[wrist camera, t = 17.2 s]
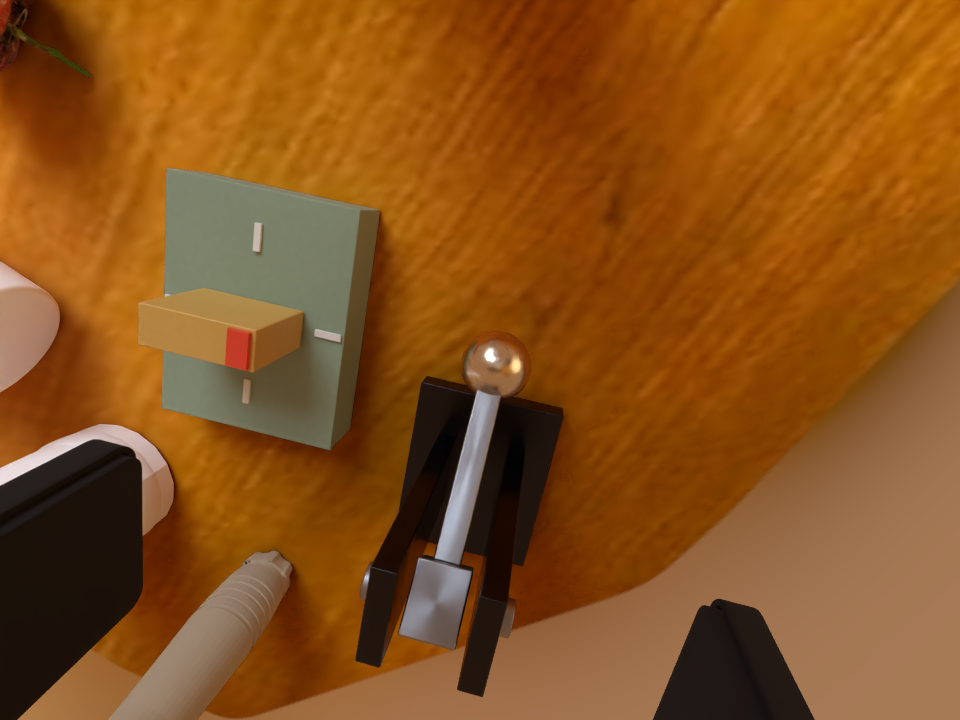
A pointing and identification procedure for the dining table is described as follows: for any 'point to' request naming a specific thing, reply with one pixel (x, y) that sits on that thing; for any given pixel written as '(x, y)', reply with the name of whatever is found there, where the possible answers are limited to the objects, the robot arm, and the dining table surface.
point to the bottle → (153, 465)
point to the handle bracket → (494, 527)
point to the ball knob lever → (464, 492)
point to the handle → (210, 644)
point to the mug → (23, 325)
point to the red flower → (21, 35)
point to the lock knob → (220, 328)
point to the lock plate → (272, 300)
